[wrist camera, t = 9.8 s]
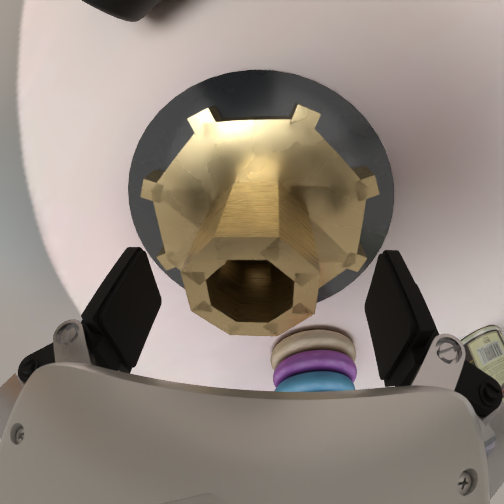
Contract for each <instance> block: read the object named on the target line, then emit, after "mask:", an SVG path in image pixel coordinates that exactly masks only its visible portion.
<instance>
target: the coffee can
mask: <svg viewBox="0 0 504 504" xmlns="http://www.w3.org/2000/svg"><path fill="white" fill-rule="evenodd" d="M461 343H462V344H463V346H464V348H465V353H466V354H465V360H467V361H468V362H470V363H471V364H473V365H474V366H476V367H477V368H479V369H480V370H482V371H484V372H485V373H487V374H488V375H490V376H491V377H493V378H494V379H495V380H496V381H498V383H499V384H500V386H501V389H502V393H503V398H502V401H503V402H504V338H503V336H502V334H501V332H500V329H499V328H498V327H497V326H488V327H485V328H482V329H480V330H478V331H476V332H474V333H472V334H471V335H469V336H467V337H466V338H464V339H463V340H462V341H461Z"/></svg>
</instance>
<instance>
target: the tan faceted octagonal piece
mask: <svg viewBox="0 0 504 504" xmlns="http://www.w3.org/2000/svg"><path fill="white" fill-rule="evenodd" d="M320 116H321V114H320V113H319V112H317V111H315V110H313V109H311V108H308V107H306V106H303V105H301V104H299V103H296V102H295V105H294V107H293V109H292V112H291V114H290V116H249V117H230V118H221V116H220V114H219V112H218V110H217V109H216V107H215V105H214V106H211V107H209V108H207V109H205V110H203V111H201V112H199V113H197V114H195V115H194V116H192V117H190V118H188V119H187V120H188V121H189V123H190V125H191V127H192V129H193V130H194V132H195V133H194V135H193V136H192V137H191V138H190V140H189V141H188V142H187V143H186V145H185V146H184V147H183V148H182V150H181V151H180V152H179V154H178V155H177V156H176V157H175V159H174V160H173V161H172V163H171V164H170V165H169V167H168V168H167V169H166V171H165V172H161V171H157V170H153V171H152V172H151V173H150V174H149V175H147V176H146V177H145V178H144V179H143V185H142V191H141V197H142V198H145V199H148V200H151V201H153V203H154V207H155V212H156V216H157V220H158V224H159V229H160V233H161V237H162V241H163V244H164V245H163V246H162V248H161V250H160V252H159V253H158V255H157V257H156V258H157V259H158V260H159V262H160V263H161V264H162V266H163V267H164V268H165V270H166V271H167V270H169V269H172V268H175V267H177V268H178V269H179V270H181V271H180V272H181V276H182V280H183V283H184V287H185V291H186V294H187V298H188V302H189V305H190V309H191V311H192V312H194V313H195V314H197V315H199V316H200V317H202V318H203V319H205V320H206V321H208V322H210V323H211V324H213V325H215V326H216V327H218V328H219V329H221V330H223V331H224V332H226V333H228V334H229V335H249V336H278V335H280V334H282V333H284V332H285V331H287V330H289V329H290V328H292V327H294V326H295V325H297V324H299V323H300V322H302V321H304V320H305V319H307V318H308V317H310V316H312V315H313V314H315V309H316V302H317V296H318V289H319V288H320V287H321V286H323V285H324V284H326V283H327V282H329V281H330V280H331V279H333V278H334V277H336V276H337V275H338V274H340V273H341V272H343V271H344V270H345V269H347V268H348V269H350V270H353V271H356V272H358V271H359V270H360V268H361V267H362V265H363V264H364V263H365V261H366V260H367V256H366V254H365V251H364V249H363V247H362V244H360V243H359V240H360V234H361V229H362V223H363V217H364V210H365V204H366V199H368V198H371V197H374V196H377V195H380V194H379V190H378V186H377V182H376V178H375V175H374V174H373V173H372V172H371V171H370V170H369V169H368V167H367V166H364V167H361V168H358V169H355V170H352V168H351V167H350V166H349V165H348V164H347V163H346V162H345V161H344V159H343V158H342V157H341V156H340V155H339V154H338V153H337V152H336V151H335V149H334V148H333V147H332V146H331V145H330V144H329V143H328V142H327V141H326V140H325V139H324V138H323V137H322V136H321V135H320V134H319V133H318V132H317V131H316V130H315V127H316V124H317V122H318V120H319V118H320Z"/></svg>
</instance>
